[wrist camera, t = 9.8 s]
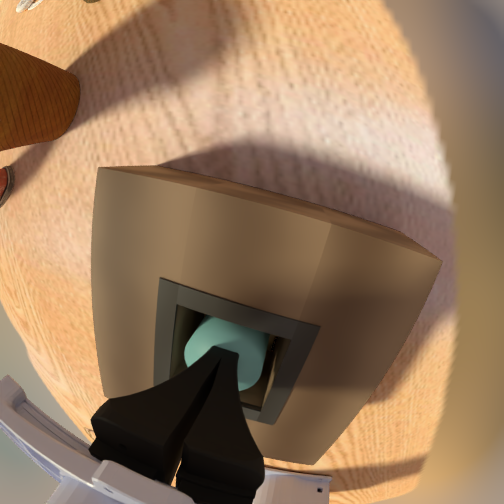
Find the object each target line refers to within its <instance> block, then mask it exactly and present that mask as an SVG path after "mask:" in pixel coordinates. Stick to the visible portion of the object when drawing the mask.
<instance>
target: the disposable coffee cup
mask: <svg viewBox="0 0 504 504" xmlns="http://www.w3.org/2000/svg"><path fill="white" fill-rule="evenodd" d="M79 97H80V86H79V81H78V79H77V77H76V76H75V75H74V74H72V73H69V72H67V71H65V70H63V69H61V68H59V67H56V66H54V65H52V64H50V63H48V62H46V61H43V60H41V59H39V58H36V57H34V56H31V55H29V54H27V53H24V52H22V51H19V50H17V49H15V48H12V47H9V46H7V45H4V44H2V43H0V151H3V150H8V149H12V148H16V147H21V146H26V145H31V144H36V143H41V142H47V141H52V140H55V139H57V138H59V137H60V136H61V135H62V134H63V133H64V132H65V131H66V130H67V128H68V127H69V126H70V124H71V122H72V120H73V118H74V116H75V113H76V110H77V107H78V103H79Z"/></svg>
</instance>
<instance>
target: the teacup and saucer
mask: <svg viewBox="0 0 504 504" xmlns="http://www.w3.org/2000/svg"><path fill="white" fill-rule="evenodd" d="M42 1H43V0H39V1H38V2H36V3H33V2H34V0H21V1H20V2H19V4H18V6H17V8H16V11H17V12H18V13H21V12H23V11H25V10H26V9H28V10H31V9H33V8H35V7H36V6H37V5H39V4H40V3H41V2H42Z"/></svg>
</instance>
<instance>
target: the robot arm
mask: <svg viewBox="0 0 504 504" xmlns="http://www.w3.org/2000/svg"><path fill="white" fill-rule="evenodd" d="M238 359H239V354H238V353H236V352H233V351H230V350H227V349H224V348H221V347H218V346H215V345H214V346H212V347H211V348H210V349H209V350H208V351H207V352H206V353H205V354H204V355H203V356H201V357H200V358H199V359H198V360H197V361H195V362H194V363H193V364H192V365H190V366H189V367H188V368H186V369H185V370H183V371H182V372H180V373H179V374H177V375H176V376H174V377H172V378H170V379H169V380H167V381H165V382H163V383H161V384H158V385H156V386H154V387H152V388H149V389H146V390H144V391H140V392H137V393H134V394H130V395H126V396H121V397H116V398H110V399H108V400H107V401H106V402H105V403H104V404H103V405H102V406H101V407H100V408H99V409H98V410H97V411H96V413H95V414H94V415H93V416H92V418H91V424H92V427H93V430H94V433H95V435H96V439H95V440H94V442H93V443H92V445H91V446H90V445H89V444H87V443H85V442H84V441H82V440H81V439H79V438H78V437H76V436H75V435H73V434H72V433H70V432H69V431H68V430H66V429H65V428H63V427H62V426H60V425H59V424H58V423H57V422H55V421H54V420H53V419H51V418H50V417H49V416H48V415H46V414H45V413H44V412H43V411H41V410H40V409H39V408H38V407H36V406H35V405H34V404H33V403H32V402H31V401H30V400H28V399H27V397H26V394H25V392H24V390H23V389H22V388H21V386H20V385H19V384H18V383H17V382H16V381H14V379H12V378H11V377H10V376H9V375H6V376H5V377H4V378H3V379H2V380H1V381H0V428H1V429H2V430H3V432H4V433H5V434H6V435H7V436H8V437H9V438H10V439H11V440H12V441H13V442H14V443H15V444H16V445H17V446H18V447H19V448H21V450H22V451H23V452H24V453H25V454H26V455H27V456H29V457H30V458H31V459H32V460H33V461H34V462H35V463H36V464H38V466H40V467H41V468H42V469H43V470H44V471H45V472H47V473H48V474H49V475H50V476H51V477H53V478H54V479H55V480H57V481H58V482H59V483H60V484H59V485H58V487H57V488H56V489H55V491H54V492H53V494H52V495H51V496H50V498H49V499H48V501H47V502H46V503H45V504H329V483H330V481H331V480H332V477H330V476H320V475H311V474H303V473H295V472H289V471H283V470H277V469H272V468H267V467H265V466H264V459H263V455H262V454H261V452H260V450H259V448H258V447H257V445H256V443H255V441H254V439H253V437H252V435H251V432H250V430H249V427H248V424H247V422H246V419H245V416H244V413H243V409H242V405H241V400H240V395H239V388H238V374H237V370H238ZM181 458H182V459H181ZM180 461H181V465H180V467H179V469H178V471H177V468H178V466H179V463H180ZM176 471H177V473H176ZM175 473H176V487H173V486H171V483H172V481H173V478H174V476H175Z"/></svg>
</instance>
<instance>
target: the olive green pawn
mask: <svg viewBox="0 0 504 504" xmlns="http://www.w3.org/2000/svg"><path fill="white" fill-rule="evenodd" d="M84 1H85V2H86V3H94V2H97V1H99V0H84Z"/></svg>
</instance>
